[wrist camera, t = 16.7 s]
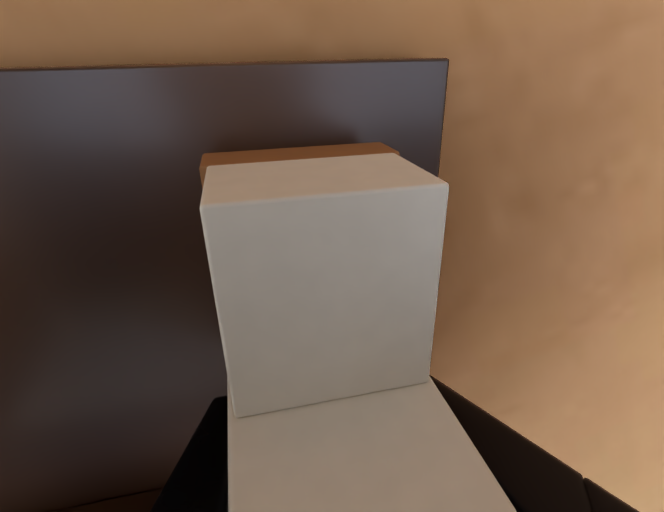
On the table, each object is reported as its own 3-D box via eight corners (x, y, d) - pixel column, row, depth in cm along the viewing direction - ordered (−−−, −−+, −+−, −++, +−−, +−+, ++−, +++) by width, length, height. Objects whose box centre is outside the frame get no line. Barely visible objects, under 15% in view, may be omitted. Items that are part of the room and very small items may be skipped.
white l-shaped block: (372, 431, 10) (487, 721, 6) (249, 457, 10) (269, 801, 5) (381, 141, 7) (640, 277, 3) (202, 153, 7) (150, 352, 2)
